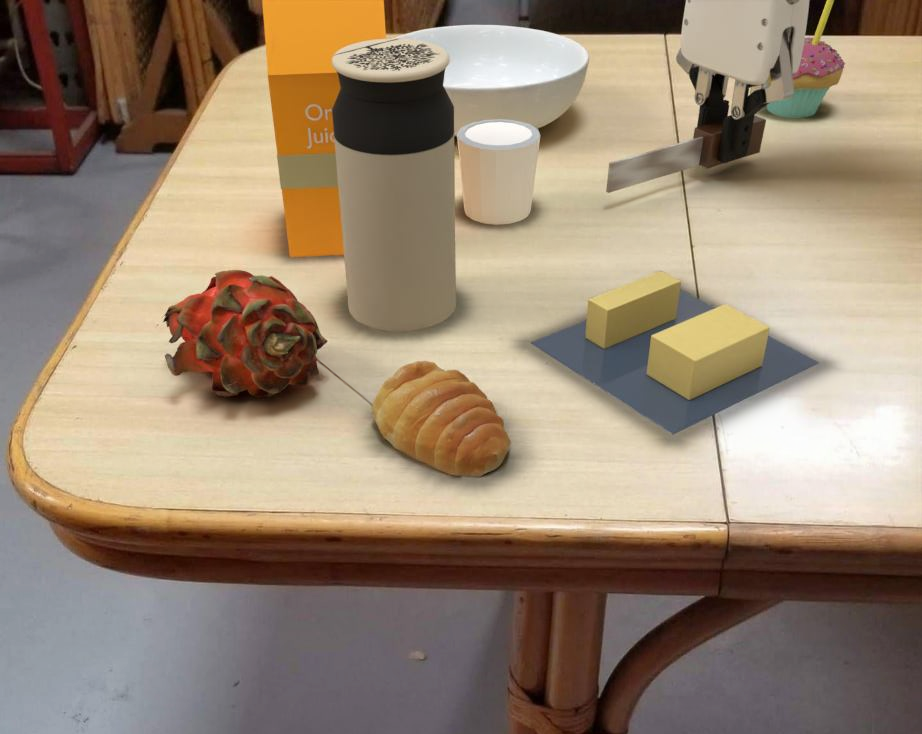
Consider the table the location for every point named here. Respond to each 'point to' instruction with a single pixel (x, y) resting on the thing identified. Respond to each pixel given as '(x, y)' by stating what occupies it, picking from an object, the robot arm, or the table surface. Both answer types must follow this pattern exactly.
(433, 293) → the travel mug
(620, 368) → the butter dish
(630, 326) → the butter slice
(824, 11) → the cupcake
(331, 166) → the orange juice
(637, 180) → the knife
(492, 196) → the cup of milk
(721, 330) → the butter block
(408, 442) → the pastry
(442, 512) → the table surface
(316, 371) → the dragon fruit
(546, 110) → the serving bowl
